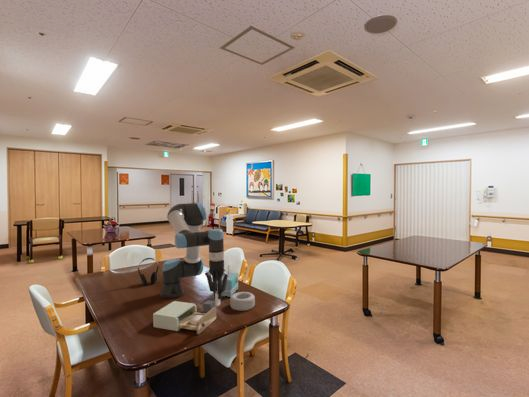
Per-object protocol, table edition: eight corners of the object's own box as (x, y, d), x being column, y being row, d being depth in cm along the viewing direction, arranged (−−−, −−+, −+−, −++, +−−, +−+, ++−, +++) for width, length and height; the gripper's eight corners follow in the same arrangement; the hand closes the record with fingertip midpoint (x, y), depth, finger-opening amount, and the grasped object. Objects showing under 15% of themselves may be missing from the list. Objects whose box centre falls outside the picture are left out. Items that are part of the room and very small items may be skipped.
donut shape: (234, 313, 166) (234, 302, 166) (227, 304, 180) (227, 293, 180) (258, 308, 172) (258, 297, 172) (249, 299, 186) (249, 289, 186)
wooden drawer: (173, 329, 148) (172, 317, 147) (192, 314, 164) (192, 303, 164) (200, 334, 142) (200, 321, 142) (218, 318, 159) (217, 307, 159)
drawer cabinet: (153, 326, 152) (153, 313, 151) (174, 312, 168) (174, 300, 168) (177, 331, 147) (177, 317, 146) (196, 316, 164) (196, 303, 163)
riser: (203, 313, 166) (202, 303, 166) (207, 310, 171) (207, 300, 171) (210, 314, 165) (210, 304, 164) (215, 311, 169) (214, 301, 169)
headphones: (137, 284, 220) (136, 258, 219) (157, 280, 228) (156, 255, 227) (139, 287, 212) (138, 260, 212) (160, 283, 221) (159, 257, 220)
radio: (232, 298, 189) (231, 268, 188) (219, 297, 191) (218, 267, 190) (239, 289, 204) (239, 261, 204) (227, 288, 206) (227, 261, 206)
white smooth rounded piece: (186, 324, 151) (186, 321, 150) (195, 317, 158) (194, 314, 158) (200, 325, 148) (200, 322, 148) (208, 318, 156) (207, 316, 156)
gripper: (201, 260, 146) (203, 306, 147) (224, 262, 142) (226, 309, 143) (209, 257, 153) (210, 301, 154) (231, 258, 149) (232, 303, 150)
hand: (217, 305), depth 148 cm, fingers closed
